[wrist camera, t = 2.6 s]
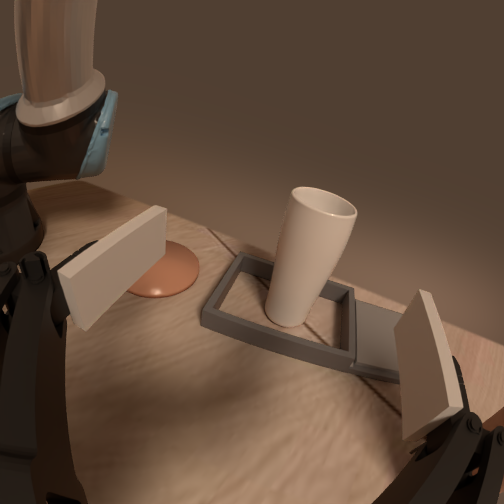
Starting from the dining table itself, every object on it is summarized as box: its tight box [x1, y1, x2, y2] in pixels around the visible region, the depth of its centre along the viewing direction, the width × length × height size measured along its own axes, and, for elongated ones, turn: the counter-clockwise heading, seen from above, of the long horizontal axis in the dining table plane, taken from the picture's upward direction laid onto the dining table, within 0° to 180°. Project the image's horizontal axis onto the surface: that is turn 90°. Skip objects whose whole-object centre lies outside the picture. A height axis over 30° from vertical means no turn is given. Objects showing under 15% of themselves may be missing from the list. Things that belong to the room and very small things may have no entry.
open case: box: [201, 251, 403, 384], centre depth 31 cm, size 33×13×2 cm, turn 74°
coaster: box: [127, 240, 199, 298], centre depth 35 cm, size 12×12×1 cm
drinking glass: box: [265, 187, 357, 328], centre depth 29 cm, size 7×7×15 cm
